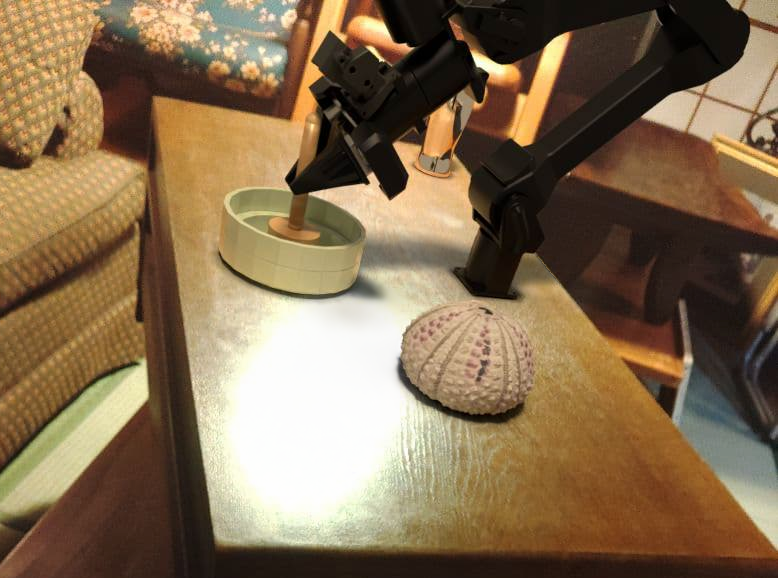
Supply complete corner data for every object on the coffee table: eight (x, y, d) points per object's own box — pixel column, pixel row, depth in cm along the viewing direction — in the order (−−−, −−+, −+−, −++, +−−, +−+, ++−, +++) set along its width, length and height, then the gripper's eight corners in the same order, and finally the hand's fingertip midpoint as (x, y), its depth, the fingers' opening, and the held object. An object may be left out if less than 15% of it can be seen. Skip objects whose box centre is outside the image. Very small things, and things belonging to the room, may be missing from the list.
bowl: (372, 304, 80) (385, 255, 77) (233, 293, 74) (240, 239, 71) (332, 243, 90) (342, 197, 87) (207, 228, 84) (212, 178, 81)
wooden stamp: (320, 253, 84) (348, 116, 74) (308, 271, 79) (336, 128, 70) (272, 238, 84) (294, 98, 74) (258, 255, 79) (279, 109, 70)
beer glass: (449, 182, 121) (480, 79, 111) (408, 168, 121) (436, 64, 111) (454, 171, 126) (484, 72, 116) (415, 158, 126) (442, 58, 116)
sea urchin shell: (548, 402, 74) (582, 330, 69) (472, 443, 65) (505, 363, 60) (447, 338, 79) (472, 266, 74) (364, 367, 70) (386, 288, 65)
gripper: (346, -16, 73) (223, 87, 76) (412, 33, 61) (263, 153, 64) (397, 88, 82) (284, 177, 85) (464, 148, 70) (329, 250, 73)
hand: (289, 187), depth 76 cm, fingers closed on wooden stamp
